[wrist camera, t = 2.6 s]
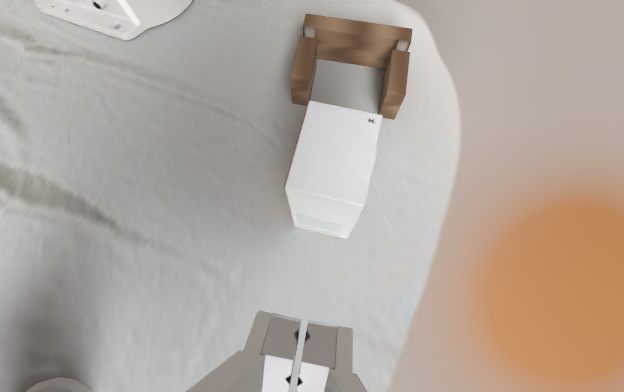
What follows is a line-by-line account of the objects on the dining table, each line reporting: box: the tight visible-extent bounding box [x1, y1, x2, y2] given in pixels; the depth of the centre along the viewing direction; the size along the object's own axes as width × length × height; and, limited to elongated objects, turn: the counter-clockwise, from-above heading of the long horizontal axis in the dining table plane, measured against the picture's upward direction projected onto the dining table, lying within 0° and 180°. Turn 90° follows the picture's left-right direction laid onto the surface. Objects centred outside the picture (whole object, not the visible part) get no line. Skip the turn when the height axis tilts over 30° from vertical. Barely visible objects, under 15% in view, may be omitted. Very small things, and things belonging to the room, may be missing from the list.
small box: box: [284, 101, 383, 238], centre depth 31 cm, size 8×6×13 cm
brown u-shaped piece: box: [290, 14, 412, 119], centre depth 40 cm, size 13×10×6 cm
